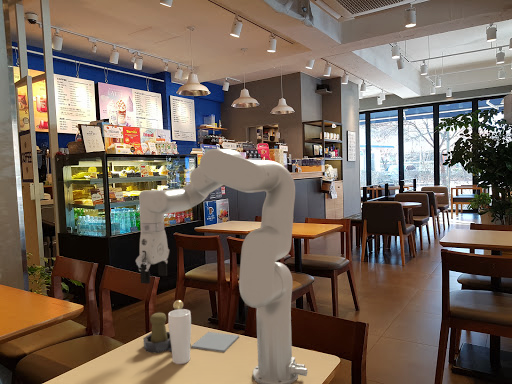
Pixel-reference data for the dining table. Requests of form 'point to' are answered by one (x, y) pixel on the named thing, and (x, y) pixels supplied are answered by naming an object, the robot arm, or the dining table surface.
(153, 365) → the dining table surface
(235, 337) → the mat
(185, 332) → the drinking glass
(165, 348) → the ring stand
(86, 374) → the dining table surface
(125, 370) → the dining table surface
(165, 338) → the olive rounded tall piece
